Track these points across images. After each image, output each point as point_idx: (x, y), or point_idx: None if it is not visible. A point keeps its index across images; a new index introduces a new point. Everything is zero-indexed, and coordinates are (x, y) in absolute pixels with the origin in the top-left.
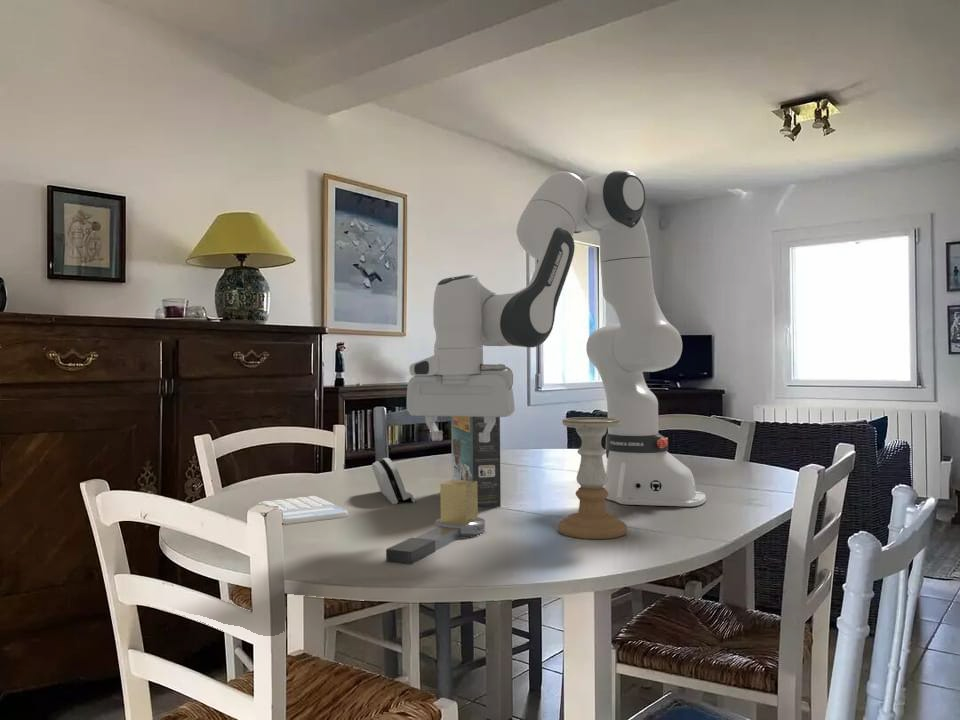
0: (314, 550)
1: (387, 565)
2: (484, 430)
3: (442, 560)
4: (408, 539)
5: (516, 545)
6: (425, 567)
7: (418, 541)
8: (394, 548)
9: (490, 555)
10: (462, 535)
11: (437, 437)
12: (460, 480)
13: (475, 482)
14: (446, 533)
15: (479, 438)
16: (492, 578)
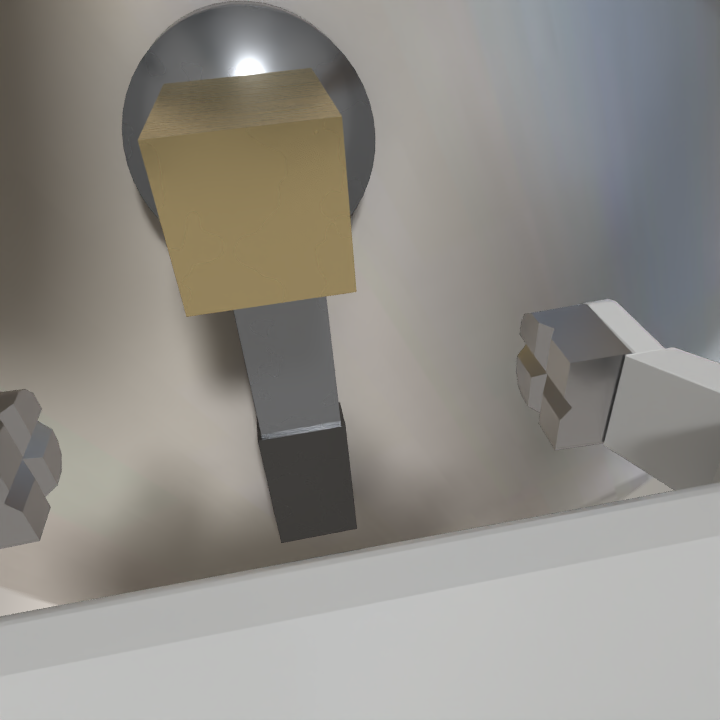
0: (19, 548)
1: None
2: (636, 457)
3: (404, 448)
4: (266, 460)
5: (551, 220)
6: (395, 501)
7: (308, 459)
8: (296, 530)
9: (506, 355)
10: None
11: (44, 489)
12: (215, 147)
13: (344, 148)
14: (320, 336)
15: (538, 409)
16: (568, 483)
